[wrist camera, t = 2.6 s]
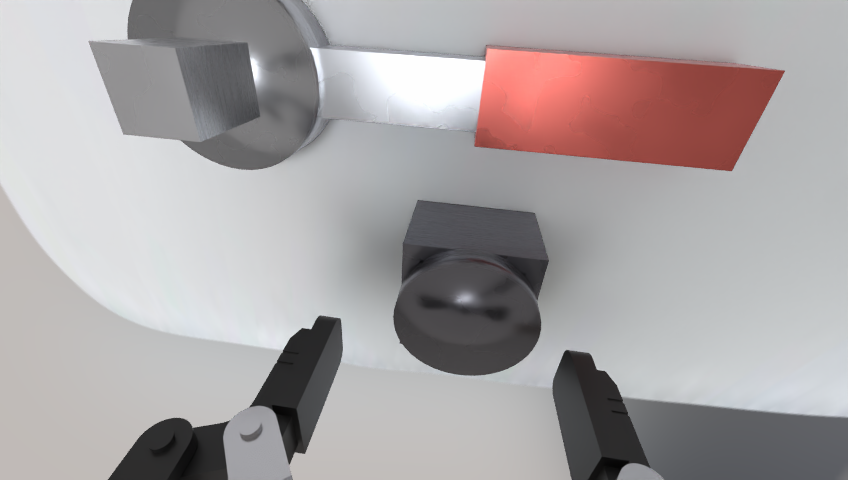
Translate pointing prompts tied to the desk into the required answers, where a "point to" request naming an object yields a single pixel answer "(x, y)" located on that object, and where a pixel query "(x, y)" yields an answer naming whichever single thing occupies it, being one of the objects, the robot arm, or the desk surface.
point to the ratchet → (411, 90)
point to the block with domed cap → (470, 287)
